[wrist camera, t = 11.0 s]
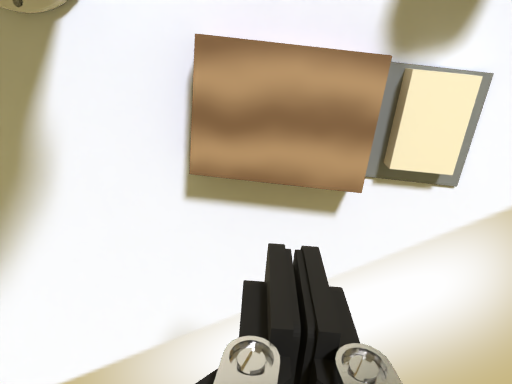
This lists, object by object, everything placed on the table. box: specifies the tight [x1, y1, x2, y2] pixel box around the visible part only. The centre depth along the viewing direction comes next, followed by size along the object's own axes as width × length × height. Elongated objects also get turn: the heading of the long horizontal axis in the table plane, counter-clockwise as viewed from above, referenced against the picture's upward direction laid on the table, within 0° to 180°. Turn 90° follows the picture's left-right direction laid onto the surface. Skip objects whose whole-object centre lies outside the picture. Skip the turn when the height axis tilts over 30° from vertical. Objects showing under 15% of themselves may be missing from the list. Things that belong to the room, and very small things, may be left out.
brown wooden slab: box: [190, 34, 392, 193], centre depth 34 cm, size 12×16×4 cm
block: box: [384, 68, 483, 175], centre depth 34 cm, size 9×6×2 cm, turn 175°
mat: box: [365, 62, 494, 186], centre depth 36 cm, size 11×10×1 cm
